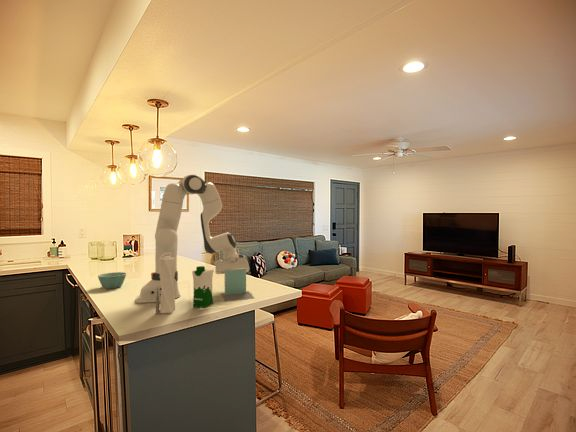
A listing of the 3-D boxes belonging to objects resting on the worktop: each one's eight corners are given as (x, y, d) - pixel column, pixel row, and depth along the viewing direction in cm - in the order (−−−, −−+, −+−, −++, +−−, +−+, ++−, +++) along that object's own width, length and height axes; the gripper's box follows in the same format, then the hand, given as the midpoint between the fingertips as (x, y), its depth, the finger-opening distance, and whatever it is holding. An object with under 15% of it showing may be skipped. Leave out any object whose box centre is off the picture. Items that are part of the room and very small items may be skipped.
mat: (225, 302, 156) (225, 301, 156) (220, 294, 171) (220, 293, 171) (254, 299, 162) (254, 298, 162) (248, 292, 177) (248, 291, 177)
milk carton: (190, 307, 149) (190, 267, 148) (201, 302, 157) (201, 264, 157) (205, 309, 146) (205, 268, 146) (215, 303, 154) (215, 265, 154)
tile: (225, 294, 169) (225, 270, 169) (224, 293, 171) (224, 269, 171) (246, 292, 173) (246, 268, 173) (245, 291, 175) (245, 267, 175)
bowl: (105, 284, 197) (105, 272, 197) (130, 283, 199) (130, 271, 198) (92, 290, 181) (92, 277, 181) (120, 290, 183) (119, 276, 183)
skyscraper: (161, 309, 147) (160, 252, 146) (178, 309, 147) (177, 252, 147) (154, 315, 138) (154, 254, 138) (172, 314, 139) (172, 254, 139)
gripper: (214, 257, 180) (216, 276, 171) (247, 255, 187) (251, 273, 178) (213, 263, 184) (215, 282, 175) (246, 261, 191) (249, 279, 182)
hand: (233, 278), depth 176 cm, fingers closed
